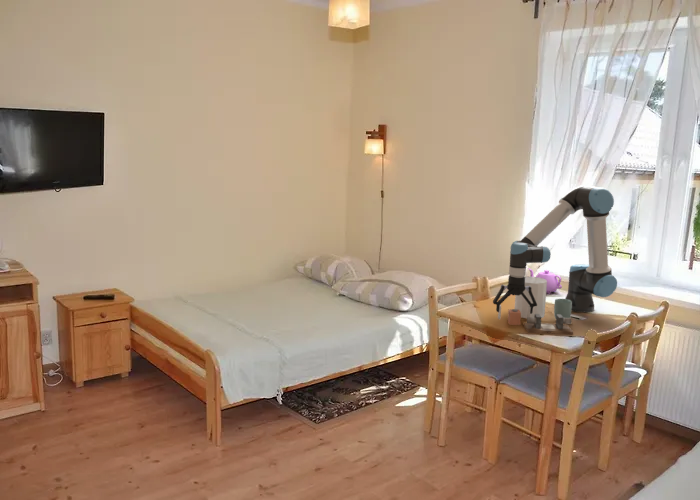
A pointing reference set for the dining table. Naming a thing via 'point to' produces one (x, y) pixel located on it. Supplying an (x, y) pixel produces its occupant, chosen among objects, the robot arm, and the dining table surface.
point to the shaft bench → (548, 325)
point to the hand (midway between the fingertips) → (513, 319)
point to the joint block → (514, 317)
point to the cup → (563, 307)
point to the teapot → (549, 280)
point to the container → (539, 294)
